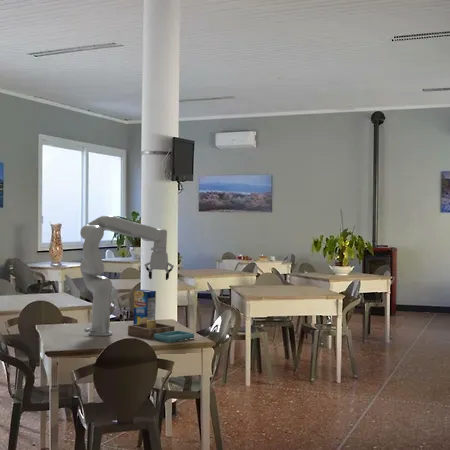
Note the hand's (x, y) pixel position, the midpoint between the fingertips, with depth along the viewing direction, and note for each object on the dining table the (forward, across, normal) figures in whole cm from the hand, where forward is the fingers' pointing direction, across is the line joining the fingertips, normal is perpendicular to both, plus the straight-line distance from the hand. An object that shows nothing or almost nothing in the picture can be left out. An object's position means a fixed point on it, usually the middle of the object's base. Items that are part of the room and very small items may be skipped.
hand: (158, 279), depth 372 cm
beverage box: (+29, -8, 0) cm, 30 cm away
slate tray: (+29, +16, -30) cm, 45 cm away
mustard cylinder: (+29, +1, -20) cm, 36 cm away
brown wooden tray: (+29, +1, -20) cm, 36 cm away
